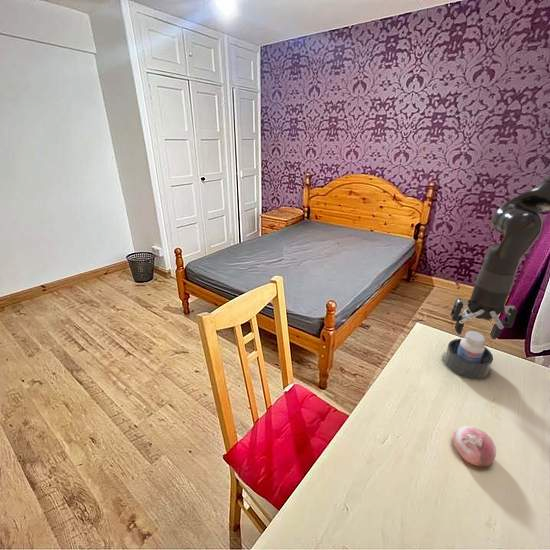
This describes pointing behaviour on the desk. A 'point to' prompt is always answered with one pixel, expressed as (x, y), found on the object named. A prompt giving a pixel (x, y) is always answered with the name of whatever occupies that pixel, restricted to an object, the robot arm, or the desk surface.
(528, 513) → the desk surface
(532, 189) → the robot arm
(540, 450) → the desk surface
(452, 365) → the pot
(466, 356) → the pill bottle
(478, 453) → the onion
